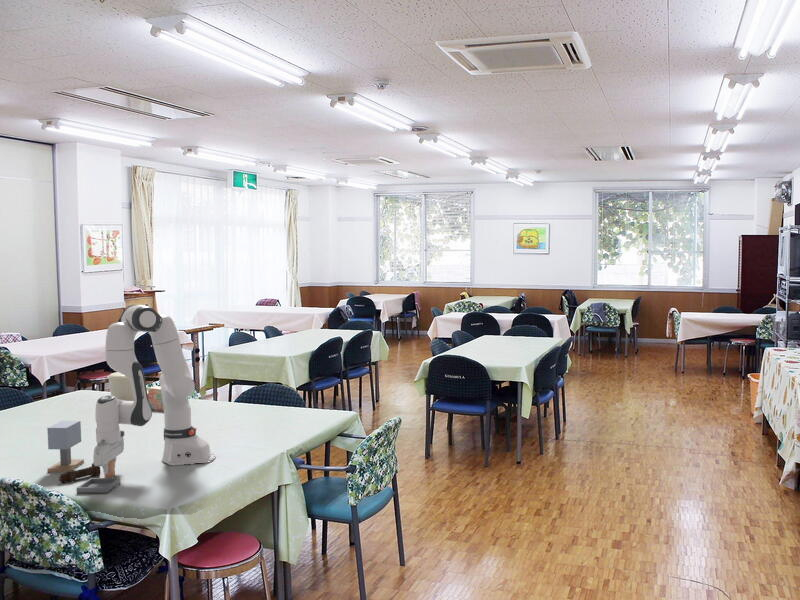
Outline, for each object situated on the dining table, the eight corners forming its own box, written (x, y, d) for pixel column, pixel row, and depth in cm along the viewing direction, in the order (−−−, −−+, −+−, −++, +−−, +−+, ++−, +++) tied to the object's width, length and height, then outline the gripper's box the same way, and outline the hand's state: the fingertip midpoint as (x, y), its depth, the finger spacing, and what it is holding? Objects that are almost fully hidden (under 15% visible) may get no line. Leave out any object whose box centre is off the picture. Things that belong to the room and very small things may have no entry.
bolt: (59, 487, 283) (97, 477, 293) (63, 484, 279) (101, 474, 290) (56, 473, 284) (94, 464, 295) (59, 470, 281) (98, 460, 291)
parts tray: (120, 483, 281) (120, 478, 281) (107, 493, 269) (106, 488, 269) (91, 483, 281) (90, 478, 281) (76, 493, 270) (76, 488, 270)
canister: (134, 398, 440) (133, 364, 439) (145, 402, 427) (144, 367, 425) (104, 402, 429) (102, 367, 427) (114, 407, 415) (112, 371, 413)
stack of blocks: (136, 407, 414) (135, 386, 413) (143, 405, 420) (142, 384, 419) (166, 410, 406) (165, 389, 405) (173, 408, 412) (172, 387, 411)
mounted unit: (83, 462, 308) (82, 420, 307) (69, 472, 296) (67, 428, 294) (62, 462, 309) (60, 420, 307) (46, 472, 296) (44, 428, 294)
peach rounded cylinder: (116, 475, 291) (116, 458, 291) (112, 478, 287) (111, 461, 287) (107, 475, 291) (106, 458, 291) (102, 478, 287) (102, 461, 287)
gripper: (104, 443, 278) (105, 478, 279) (126, 430, 298) (127, 462, 299) (88, 443, 278) (89, 478, 279) (111, 430, 298) (112, 462, 299)
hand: (109, 470), depth 289 cm, fingers closed on peach rounded cylinder, 4 cm apart
